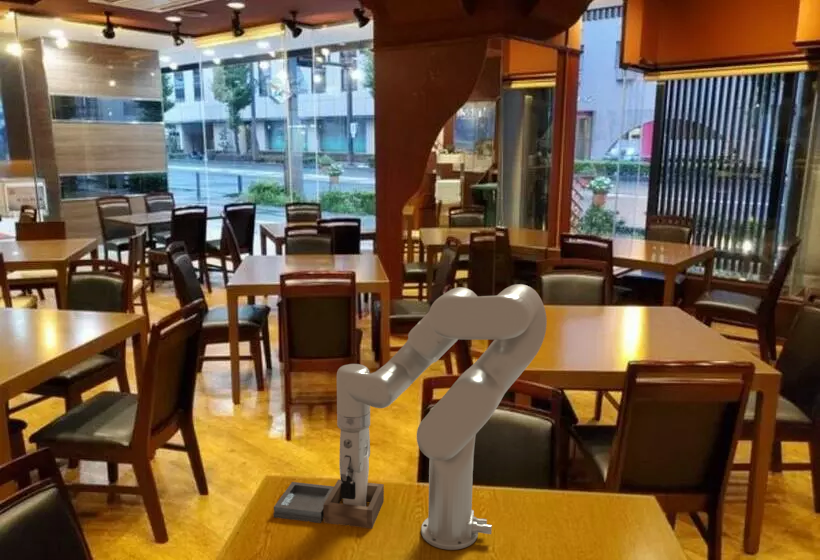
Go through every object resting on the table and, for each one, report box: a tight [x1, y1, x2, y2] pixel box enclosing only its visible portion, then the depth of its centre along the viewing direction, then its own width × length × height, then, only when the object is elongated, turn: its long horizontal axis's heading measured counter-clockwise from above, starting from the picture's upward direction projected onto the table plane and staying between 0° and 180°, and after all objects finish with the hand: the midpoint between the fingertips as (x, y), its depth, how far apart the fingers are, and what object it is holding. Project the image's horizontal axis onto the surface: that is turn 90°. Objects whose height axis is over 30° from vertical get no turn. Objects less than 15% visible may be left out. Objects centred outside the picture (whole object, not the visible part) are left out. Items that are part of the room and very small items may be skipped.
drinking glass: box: [338, 451, 370, 507], centre depth 144 cm, size 7×7×15 cm
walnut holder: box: [323, 479, 385, 529], centre depth 145 cm, size 11×11×4 cm
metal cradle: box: [273, 481, 335, 524], centre depth 147 cm, size 11×12×2 cm
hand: (354, 487), depth 144 cm, fingers open, 9 cm apart
